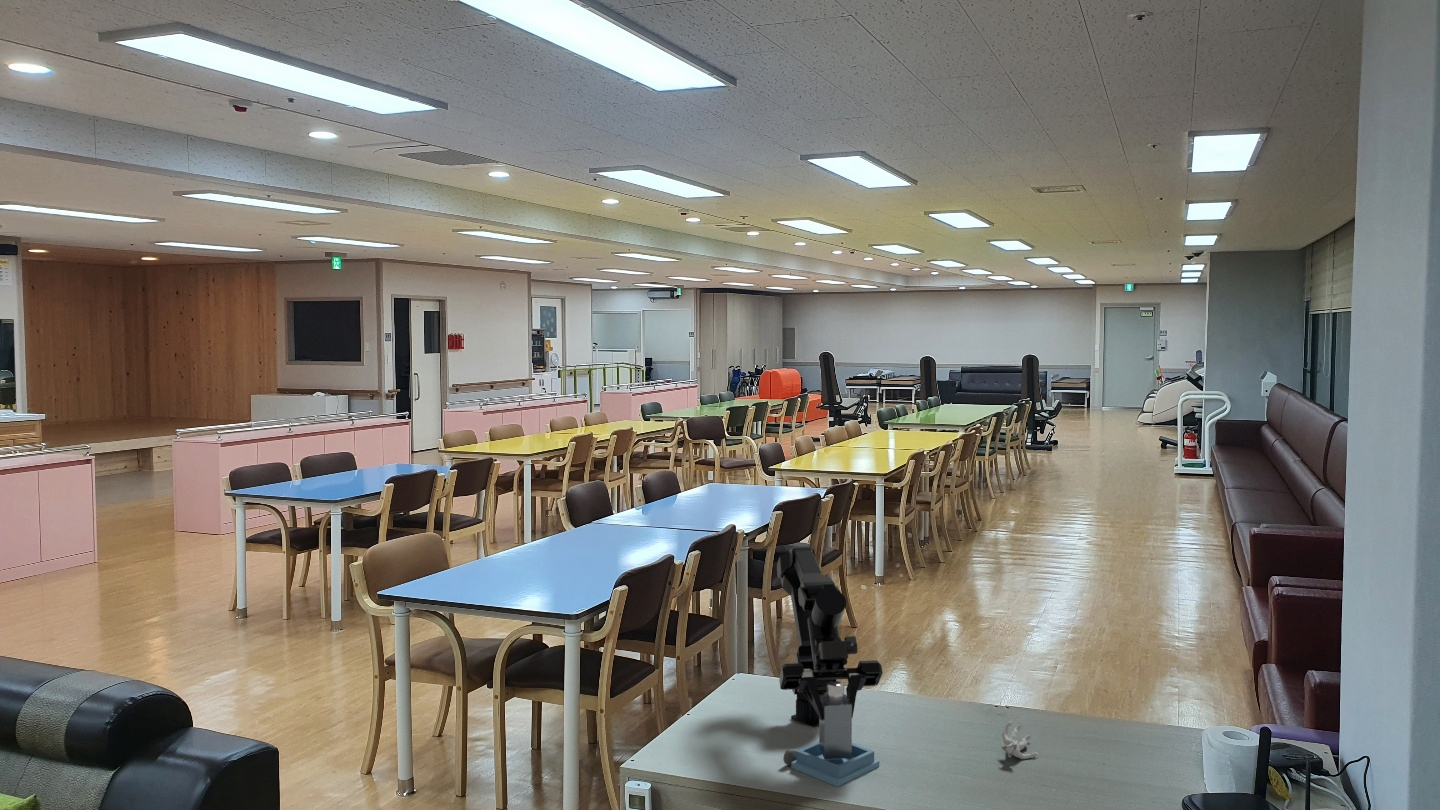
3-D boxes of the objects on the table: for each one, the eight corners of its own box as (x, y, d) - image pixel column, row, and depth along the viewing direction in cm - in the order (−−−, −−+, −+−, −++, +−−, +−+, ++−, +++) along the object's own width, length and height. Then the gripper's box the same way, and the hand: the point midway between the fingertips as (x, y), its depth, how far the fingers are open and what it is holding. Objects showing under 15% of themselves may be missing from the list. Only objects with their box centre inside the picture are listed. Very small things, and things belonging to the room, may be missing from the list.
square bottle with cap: (819, 747, 194) (819, 680, 193) (845, 746, 195) (846, 678, 193) (824, 759, 189) (824, 689, 188) (851, 757, 190) (851, 688, 188)
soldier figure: (1042, 749, 201) (1040, 754, 190) (1022, 765, 202) (1019, 771, 191) (1014, 716, 204) (1011, 719, 193) (995, 732, 205) (990, 735, 194)
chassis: (830, 745, 202) (830, 730, 201) (881, 765, 193) (881, 749, 192) (783, 766, 192) (783, 750, 192) (834, 787, 184) (834, 771, 183)
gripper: (781, 622, 193) (791, 702, 183) (880, 618, 194) (895, 698, 185) (775, 649, 201) (784, 727, 191) (870, 645, 203) (883, 723, 193)
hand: (836, 718), depth 190 cm, fingers closed on square bottle with cap, 5 cm apart
